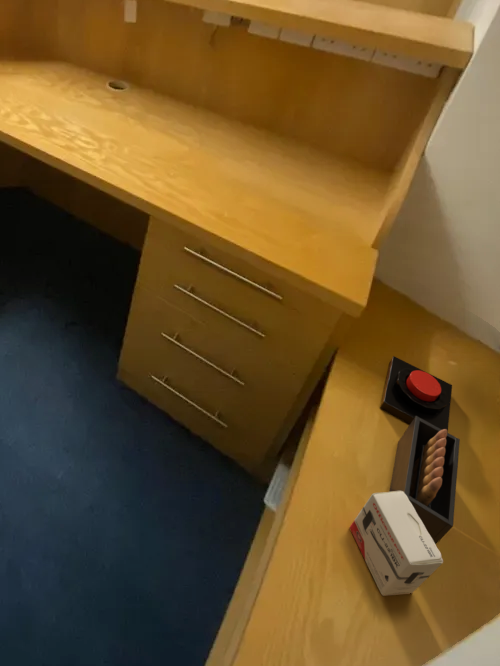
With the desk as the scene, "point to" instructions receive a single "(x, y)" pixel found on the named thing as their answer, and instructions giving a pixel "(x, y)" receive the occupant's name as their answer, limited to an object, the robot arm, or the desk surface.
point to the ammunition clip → (428, 469)
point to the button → (423, 386)
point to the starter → (413, 397)
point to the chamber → (443, 504)
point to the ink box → (395, 543)
